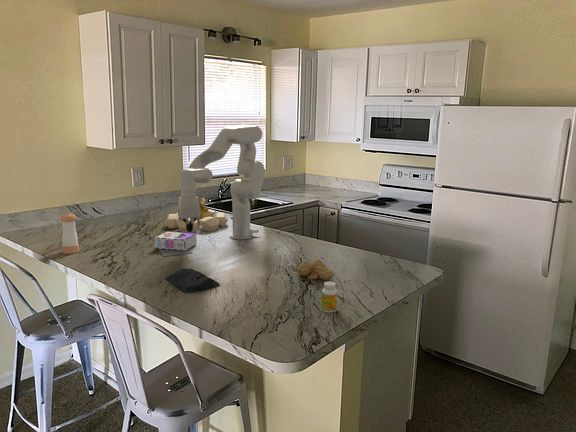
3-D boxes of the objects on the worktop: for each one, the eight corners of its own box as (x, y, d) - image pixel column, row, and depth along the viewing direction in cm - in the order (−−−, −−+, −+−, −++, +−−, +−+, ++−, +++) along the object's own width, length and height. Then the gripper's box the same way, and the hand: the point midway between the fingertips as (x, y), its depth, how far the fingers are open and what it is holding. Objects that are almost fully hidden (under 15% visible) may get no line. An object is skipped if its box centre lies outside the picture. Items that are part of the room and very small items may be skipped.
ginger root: (293, 267, 210) (298, 250, 208) (328, 276, 210) (333, 259, 208) (292, 280, 194) (297, 262, 192) (330, 290, 195) (335, 272, 193)
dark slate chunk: (196, 272, 206) (196, 262, 205) (222, 287, 189) (222, 276, 188) (162, 279, 197) (161, 268, 196) (186, 296, 180) (186, 284, 179)
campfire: (238, 226, 288) (237, 198, 284) (192, 237, 263) (191, 206, 259) (201, 217, 310) (200, 191, 307) (155, 226, 286) (154, 198, 282)
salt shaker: (73, 254, 227) (69, 214, 223) (59, 253, 229) (55, 213, 225) (82, 250, 234) (79, 211, 230) (69, 249, 236) (65, 210, 232)
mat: (185, 246, 244) (185, 245, 244) (192, 253, 232) (192, 252, 232) (157, 248, 238) (157, 248, 238) (163, 256, 226) (163, 255, 226)
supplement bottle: (319, 311, 167) (320, 284, 165) (323, 305, 172) (324, 279, 170) (334, 313, 165) (335, 287, 163) (338, 308, 170) (339, 281, 168)
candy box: (185, 239, 232) (153, 237, 236) (185, 251, 234) (154, 249, 237) (196, 233, 246) (166, 231, 249) (196, 244, 247) (166, 242, 250)
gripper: (201, 192, 239) (202, 228, 243) (171, 194, 233) (172, 231, 236) (206, 194, 232) (206, 231, 236) (174, 196, 226) (176, 234, 230)
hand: (189, 231), depth 236 cm, fingers closed
